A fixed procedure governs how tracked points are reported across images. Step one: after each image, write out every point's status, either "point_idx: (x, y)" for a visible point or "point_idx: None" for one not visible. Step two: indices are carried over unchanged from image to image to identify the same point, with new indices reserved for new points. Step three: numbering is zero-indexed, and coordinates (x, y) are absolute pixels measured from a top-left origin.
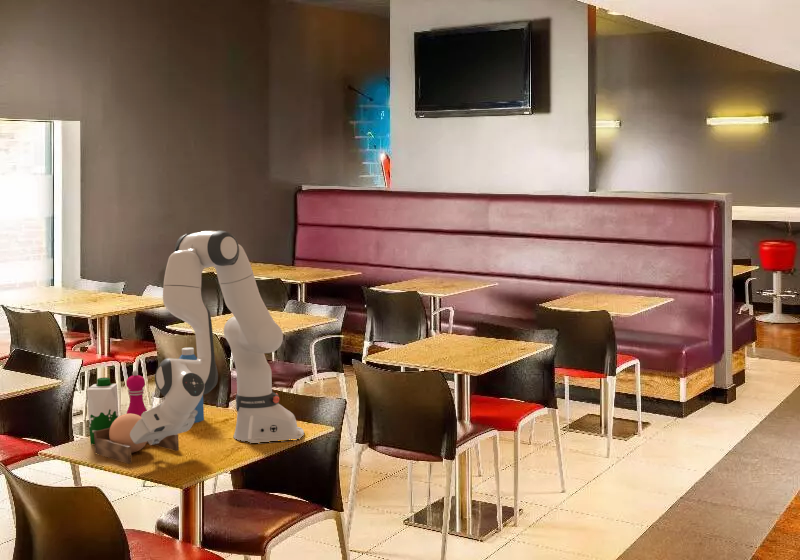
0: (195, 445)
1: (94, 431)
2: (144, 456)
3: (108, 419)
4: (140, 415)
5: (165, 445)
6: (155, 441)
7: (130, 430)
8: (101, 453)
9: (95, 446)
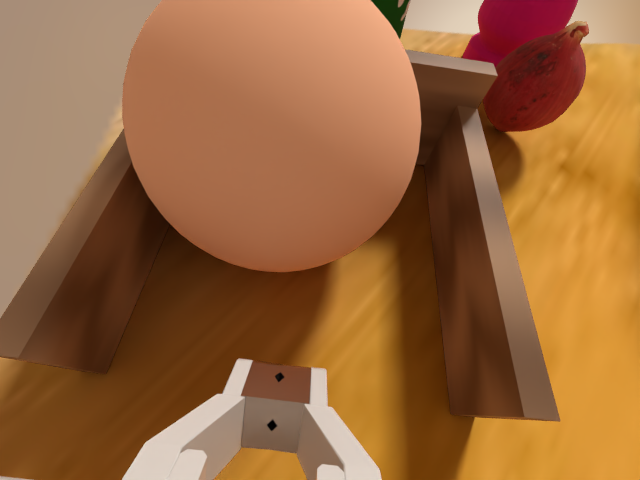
0: (607, 425)
1: None
2: (261, 330)
3: None
4: (529, 17)
5: (446, 305)
6: (256, 447)
7: (161, 176)
8: None
9: None
